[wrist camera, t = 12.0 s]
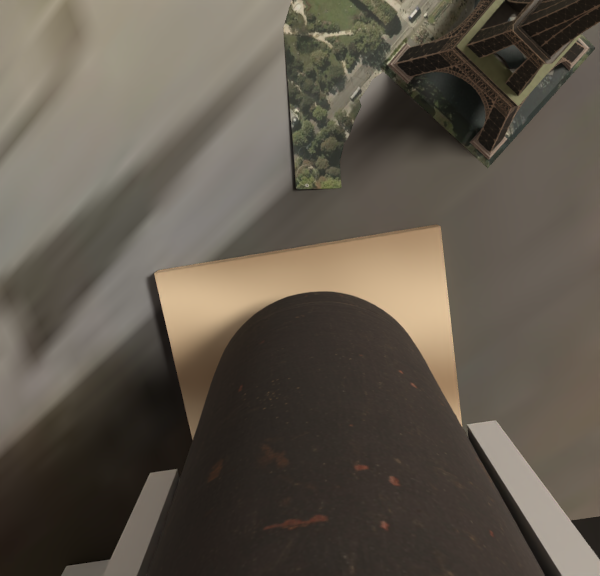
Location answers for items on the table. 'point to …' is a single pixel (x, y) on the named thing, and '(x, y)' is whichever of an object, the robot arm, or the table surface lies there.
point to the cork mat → (301, 279)
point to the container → (333, 459)
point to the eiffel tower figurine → (427, 68)
